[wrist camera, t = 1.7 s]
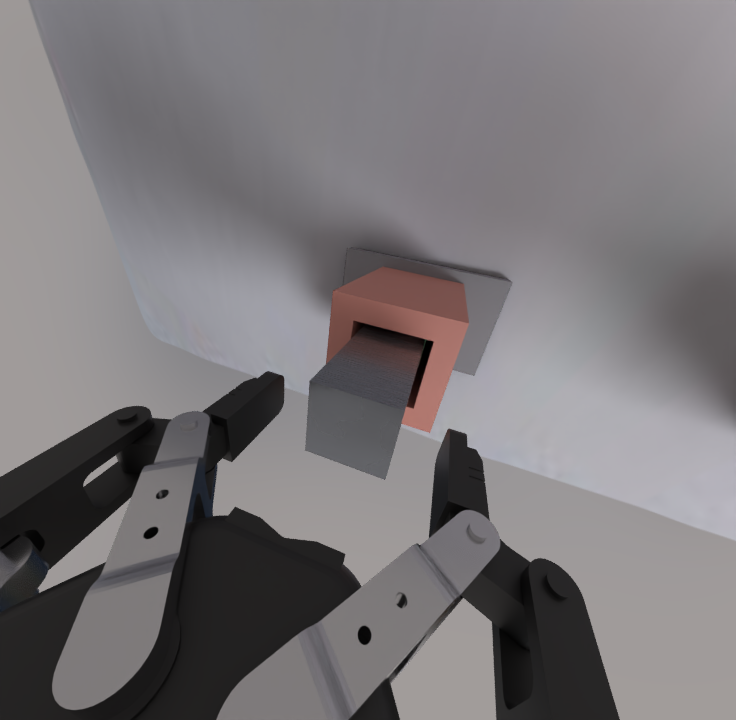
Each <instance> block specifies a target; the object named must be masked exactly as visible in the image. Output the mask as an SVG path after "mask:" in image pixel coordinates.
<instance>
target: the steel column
mask: <svg viewBox="0 0 736 720" xmlns="http://www.w3.org/2000/svg"><path fill="white" fill-rule="evenodd" d="M425 342H426V339H423V338H419V337H415V336H411V335H408V334H404V333H400V332H396V331H392V330H388V329H384V328H381V327H377V326H373V325H369V324H365V325H364V326H363V327H362V328H361V329H360V330H359V331H358V332H357V333H356V334H355V335H354V336H353V337H352V338H351V339H350V340H349V341H348V342H347V343H346V344H345V346H344V347H343V348H342V349H341V350H340V351H339V352H338V353H337V354H336V355H335V356H334V357H333V358H332V359H331V360H330V361H329V362H328V363H327V364H326V365H325V366H324V367H323V368H322V369H321V370H320V371H319V372H318V373H317V374H316V375H315V376H314V377H313V378H312V379H311V380H310V385H309V400H308V416H307V432H306V447H305V450H306V451H309V452H312V453H314V454H317V455H320V456H322V457H325V458H328V459H330V460H333V461H336V462H339V463H341V464H344V465H346V466H349V467H352V468H355V469H357V470H360V471H363V472H365V473H368V474H371V475H374V476H376V477H379V478H382V479H384V480H385V479H386V475H387V472H388V468H389V465H390V461H391V458H392V455H393V451H394V448H395V444H396V441H397V437H398V434H399V430H400V427H401V423H402V420H403V416H404V413H405V409H406V406H407V403H408V399H409V396H410V392H411V389H412V385H413V382H414V378H415V375H416V371H417V368H418V367H419V363H420V360H421V356H422V353H423V349H424V346H425Z"/></svg>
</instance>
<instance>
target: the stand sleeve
mask: <svg viewBox="0 0 736 720" xmlns="http://www.w3.org/2000/svg"><path fill="white" fill-rule="evenodd" d="M511 285H512V282H511V281H510V280H508V279H503V278H498V277H493V276H488V275H483V274H479V273H474V272H469V271H464V270H459V269H454V268H450V267H445V266H440V265H435V264H430V263H425V262H421V261H416V260H411V259H406V258H401V257H396V256H391V255H387V254H382V253H377V252H372V251H367V250H362V249H358V248H353V247H351V248H347V253H346V262H345V271H344V280H343V286H342V287H340V288H338V289H336V290H333V297H332V307H331V317H330V328H329V338H328V349H327V359H326V364H327V363H328V362H329V361H330V360H331V359H332V358H333V357H334V356H335V355H336V354H337V353H338V352H339V351H340V350H341V349H342V348H343V347H344V346H345V344H346V343H347V342H348V341H349V340H350V339H351V338H352V337H353V336H354V335H355V334H356V333H357V332H358V331H359V330H360V329H361V328H362V327H363V326H364V325H365V324H369V325H373V326H377V327H381V328H384V329H388V330H392V331H396V332H400V333H404V334H408V335H411V336H415V337H419V338H423V339H426V342H425V346H424V349H423V353H422V356H421V360H420V363H419V367H418V368H417V371H416V375H415V378H414V382H413V385H412V389H411V392H410V396H409V399H408V403H407V406H406V409H405V413H404V416H403V420H402V423H401V424H404V425H407V426H411V427H414V428H417V429H420V430H423V431H426V432H429V433H430V431H431V428H432V425H433V423H434V420H435V417H436V414H437V411H438V409H439V406H440V403H441V400H442V398H443V395H444V392H445V389H446V386H447V384H448V381H449V378H450V375H451V373H452V370H455V371H459V372H462V373H466V374H469V375H473V376H474V375H475V373H476V370H477V368H478V365H479V363H480V360H481V358H482V356H483V353H484V351H485V348H486V346H487V343H488V341H489V339H490V336H491V334H492V331H493V329H494V326H495V324H496V322H497V319H498V317H499V314H500V312H501V309H502V307H503V304H504V302H505V300H506V297H507V295H508V292H509V290H510V287H511Z"/></svg>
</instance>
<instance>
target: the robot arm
mask: <svg viewBox="0 0 736 720" xmlns="http://www.w3.org/2000/svg"><path fill="white" fill-rule="evenodd" d="M283 404H284V377H283V376H282V375H279V374H276V373H273V372H269V371H267V372H265V373H264V374H263V375H261V376H260V377H259V378H253V379H250V380H248V381H245V382H243V383H242V384H240V385H239V386H238V387H236V389H233V390H232V391H231V392H229V394H226V395H225V396H223V397H222V398H221V399H219V400H218V401H217V402H215V403H214V404H212V405H211V406H210V407H208V408H207V409H205V410H204V411H203V412H198V411H192V412H187V413H183V414H180V415H178V416H176V417H175V418H173V419H172V420H171V419H170V420H169V419H157V418H152V415H151V412H150V410H149V409H148V408H146V407H143V406H132V407H126V408H123V409H120V410H117V411H115V412H113V413H111V414H109V415H108V416H106V417H104V418H102V419H101V420H99V421H97V422H95V423H94V424H92V425H90V426H88V427H87V428H85V429H83V430H81V431H80V432H78V433H76V434H75V435H73V436H71V437H69V438H68V439H66V440H64V441H62V442H60V443H59V444H57V445H55V446H54V447H52V448H50V449H48V450H47V451H45V452H43V453H41V454H40V455H38V456H36V457H34V458H33V459H31V460H29V461H27V462H26V463H24V464H22V465H21V466H19V467H17V468H15V469H14V470H12V471H10V472H8V473H7V474H5V475H3V476H1V477H0V720H400V718H399V714H398V711H397V707H396V703H395V700H394V696H393V692H392V688H391V683H392V682H393V680H394V679H395V678H396V677H397V676H398V675H399V673H400V672H401V671H402V670H403V669H404V668H405V667H406V665H407V664H408V663H409V662H410V660H412V658H413V657H414V656H415V655H416V654H417V652H418V651H419V650H420V648H421V647H422V646H423V645H424V644H425V642H426V641H427V640H428V639H429V637H430V636H431V635H432V634H433V633H434V631H435V630H436V629H437V628H438V627H439V626H440V624H441V623H442V622H443V621H444V620H445V618H446V617H447V616H448V615H449V614H450V613H451V612H452V610H453V609H454V608H455V607H456V606H457V605H458V603H459V602H460V601H461V600H462V599H463V598H465V599H466V600H467V601H468V602H469V603H471V604H472V605H473V606H474V607H475V608H476V609H478V610H479V611H480V612H481V613H482V614H484V615H485V616H486V617H487V618H488V619H489V620H491V621H492V630H493V654H494V676H495V697H496V718H497V720H620V719H619V716H618V712H617V709H616V706H615V702H614V699H613V696H612V692H611V689H610V686H609V682H608V679H607V676H606V672H605V669H604V666H603V663H602V659H601V656H600V652H599V649H598V646H597V642H596V639H595V636H594V633H593V629H592V626H591V622H590V619H589V615H588V612H587V609H586V605H585V602H584V599H583V596H582V594H581V592H580V590H579V588H578V586H577V585H576V583H575V582H574V581H573V579H572V578H571V577H570V576H569V575H568V574H567V573H566V572H565V571H564V570H563V569H562V568H561V567H559V566H558V565H557V564H555V563H553V562H551V561H549V560H546V559H541V558H538V559H535V560H533V561H532V562H529V561H528V560H526V559H525V558H523V557H522V556H521V555H519V554H518V553H516V552H515V551H514V550H512V549H511V548H509V547H508V546H507V545H505V543H504V542H503V541H501V539H500V537H499V534H498V532H497V530H496V528H495V527H494V525H493V524H492V523H491V522H490V520H489V512H488V504H487V495H486V487H485V483H484V482H485V478H484V474H483V472H484V471H483V462H482V459H481V457H480V456H479V454H478V452H477V450H475V449H472V448H469V447H467V435H466V434H465V433H462V432H458V431H455V430H452V429H448V430H447V432H446V435H445V437H444V440H443V442H442V445H441V448H440V450H439V452H438V455H437V459H436V463H435V472H434V483H433V496H432V508H431V519H430V531H429V539H428V540H426V541H425V542H424V543H423V544H421V545H419V544H415V545H413V546H411V547H410V548H409V549H407V550H406V551H405V552H404V553H402V554H401V555H400V556H399V557H398V558H396V559H395V560H394V561H393V562H391V563H390V564H389V565H388V566H387V567H385V568H384V569H383V570H382V571H380V572H379V573H378V574H377V575H376V576H374V577H373V578H372V579H371V580H369V581H368V582H367V583H366V584H365V585H363V586H362V587H361V585H360V583H359V582H358V580H357V579H356V577H355V576H354V575H353V574H352V572H351V571H350V570H349V569H348V568H347V567H345V565H343V562H344V557H345V554H344V553H341V552H339V551H337V550H335V549H332V548H330V547H328V546H325V545H323V544H321V543H318V542H314V541H306V540H297V539H289V538H284V537H282V536H280V535H279V534H278V533H277V532H276V531H275V530H274V529H273V528H271V527H270V526H269V525H268V524H267V523H266V522H265V521H264V520H263V519H261V518H260V517H257V516H255V515H253V514H250V513H248V512H246V511H244V510H241V509H239V508H237V507H235V508H234V509H233V510H232V512H231V513H230V514H229V515H228V516H213V500H214V492H215V484H216V475H217V463H218V462H219V461H220V460H221V459H222V458H223V459H226V460H228V461H231V462H232V461H233V460H234V459H235V458H236V457H237V456H238V455H239V454H240V453H241V452H242V451H243V450H244V449H245V448H246V447H247V446H248V445H249V444H250V443H251V442H252V441H253V440H254V439H255V437H257V435H258V434H259V433H260V432H261V431H262V430H263V429H264V428H265V427H266V426H267V425H268V424H269V423H270V422H271V421H272V420H273V419H274V418H275V417H276V416H277V415H278V414H279V412H280V410H281V409H282V407H283ZM115 455H116V457H117V459H118V462H117V463H115V464H114V465H113V466H111V467H110V468H109V469H107V470H106V471H105V472H103V473H102V474H101V475H99V476H98V477H97V478H95V479H94V480H92V481H91V482H90V483H88V484H87V485H86V486H84V487H83V483H84V481H85V479H86V478H87V476H88V475H89V474H90V473H91V472H93V471H94V470H95V469H97V468H98V467H100V466H101V465H102V464H104V463H105V462H107V461H108V460H109V459H111V458H112V457H114V456H115ZM129 498H131V500H130V502H129V505H128V508H127V510H126V513H125V515H124V518H123V520H122V523H121V526H120V528H119V530H118V533H117V536H116V538H115V541H114V543H113V546H112V549H111V551H110V553H109V556H108V559H107V561H106V562H105V563H103V564H101V565H99V566H97V567H94V568H92V569H90V570H88V571H86V572H84V573H82V574H79V575H77V576H75V577H73V578H71V579H68V580H66V581H64V582H62V583H60V584H58V585H56V586H53V587H51V588H49V589H47V590H45V591H43V592H41V593H39V589H38V587H39V586H40V585H41V583H42V582H43V580H44V579H45V577H46V575H47V573H48V570H49V569H51V568H52V567H53V566H54V565H55V564H56V563H57V562H58V561H59V560H61V559H62V558H63V557H64V556H65V555H66V554H67V553H68V552H70V551H71V550H72V549H73V548H74V547H75V546H76V545H78V544H79V543H80V542H81V541H82V540H83V539H84V538H85V537H87V536H88V535H89V534H90V533H91V532H92V531H93V530H94V529H96V527H98V526H99V525H100V524H101V523H102V522H103V521H105V520H106V519H107V518H108V517H109V516H110V515H111V514H112V513H114V512H115V511H116V510H117V509H118V508H119V507H120V506H121V505H123V504H124V503H125V502H126V501H127V500H128V499H129Z"/></svg>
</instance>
